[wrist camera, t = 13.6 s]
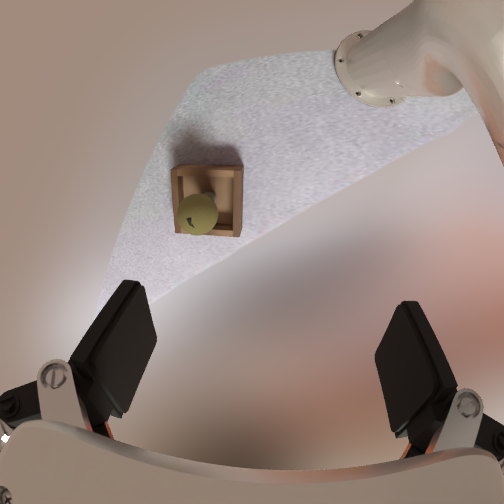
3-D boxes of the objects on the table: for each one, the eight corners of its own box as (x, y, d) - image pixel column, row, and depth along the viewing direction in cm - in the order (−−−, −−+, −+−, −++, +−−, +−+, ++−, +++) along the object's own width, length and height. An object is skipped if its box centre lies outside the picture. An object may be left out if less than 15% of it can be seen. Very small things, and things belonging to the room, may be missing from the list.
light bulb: (185, 197, 43) (162, 222, 34) (208, 173, 40) (189, 192, 32) (210, 220, 44) (193, 250, 36) (234, 198, 42) (222, 224, 33)
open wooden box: (243, 165, 40) (240, 170, 37) (242, 227, 46) (239, 237, 43) (178, 164, 41) (170, 169, 38) (181, 224, 46) (175, 233, 43)
